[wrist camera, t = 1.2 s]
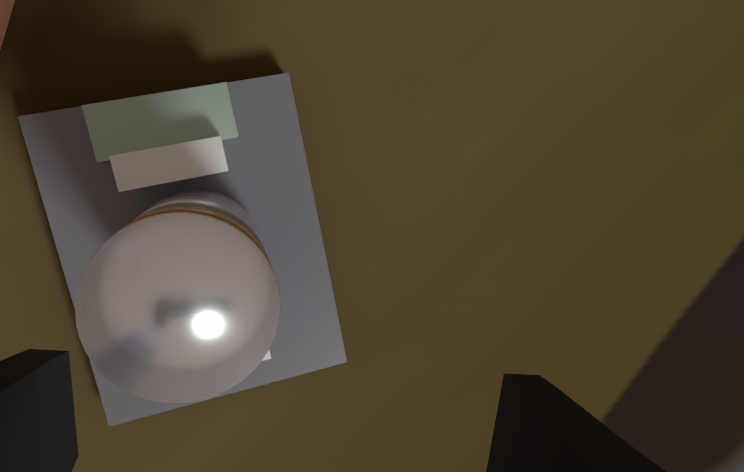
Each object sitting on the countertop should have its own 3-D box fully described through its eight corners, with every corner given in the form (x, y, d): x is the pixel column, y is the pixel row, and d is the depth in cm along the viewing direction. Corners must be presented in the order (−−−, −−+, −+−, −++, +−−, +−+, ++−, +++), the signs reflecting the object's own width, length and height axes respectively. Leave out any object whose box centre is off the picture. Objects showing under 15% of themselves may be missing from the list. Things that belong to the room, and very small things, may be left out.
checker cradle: (114, 412, 20) (95, 458, 17) (28, 118, 18) (-10, 112, 15) (341, 352, 21) (359, 384, 18) (285, 76, 19) (295, 64, 16)
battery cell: (149, 325, 19) (104, 427, 12) (116, 202, 18) (48, 237, 11) (273, 295, 19) (298, 375, 13) (247, 176, 19) (258, 194, 12)
